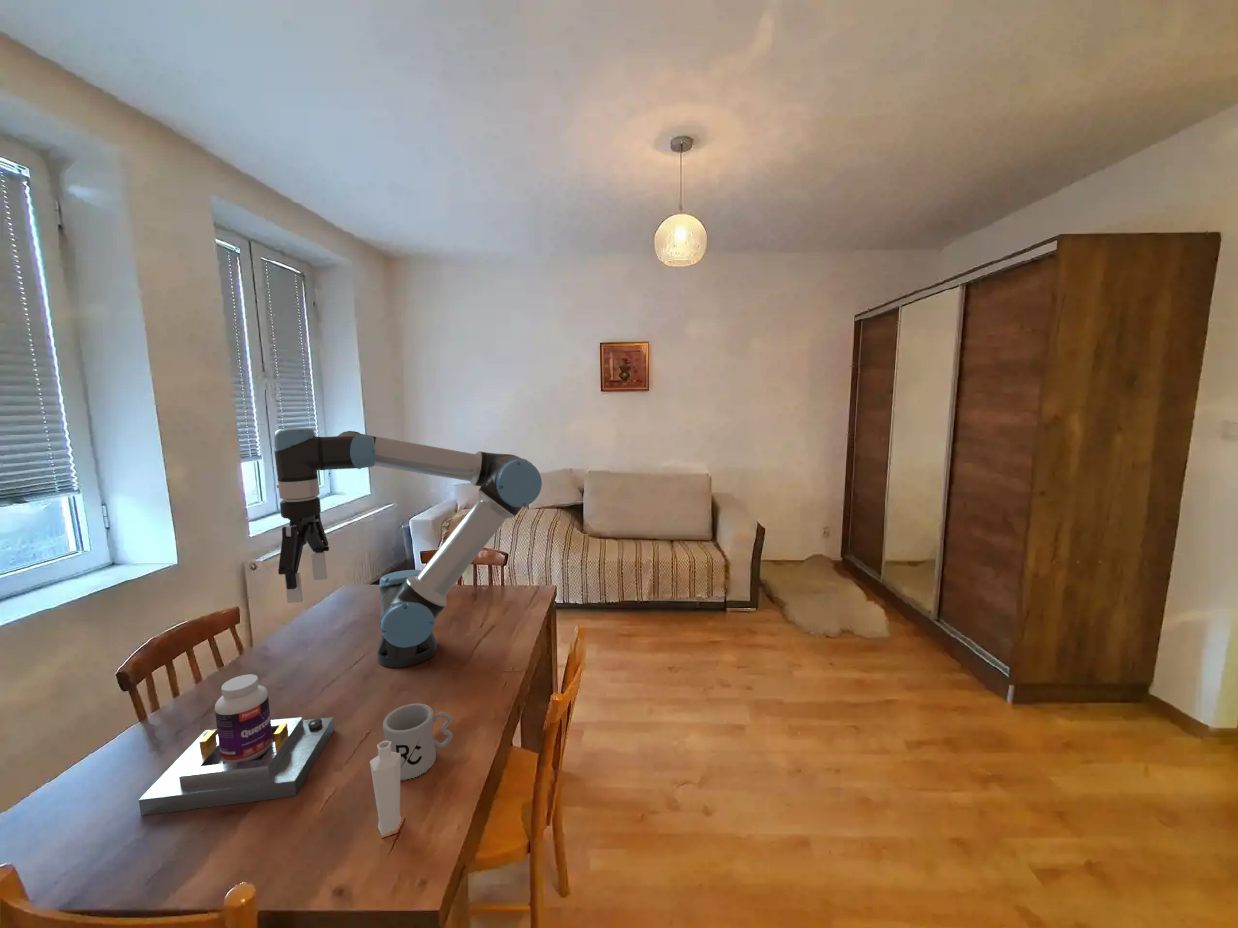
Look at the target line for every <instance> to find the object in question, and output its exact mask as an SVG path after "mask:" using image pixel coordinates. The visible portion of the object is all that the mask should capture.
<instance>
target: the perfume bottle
mask: <svg viewBox="0 0 1238 928" xmlns="http://www.w3.org/2000/svg"><path fill="white" fill-rule="evenodd" d="M376 747H377V755H376V756H374V758H373V759H371V760H370V761H369V766H370V772H371V778H372V784H373V785H372V786H373V791H374V797H375V805H376V810H377V817H378V823H377V824H378V825H377V827H378V829H379V831H380V833H381V835H384V834H386V833H389V832H391V831H394V830H396V829H397V828H398V826H399V824H400V822H401V819H402V817H401V780H400V768H401V753H396V752H391V741H386V739H385V740H382V741H381V742H379V743H378V744H377V745H376ZM402 820H403V819H402Z"/></svg>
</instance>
